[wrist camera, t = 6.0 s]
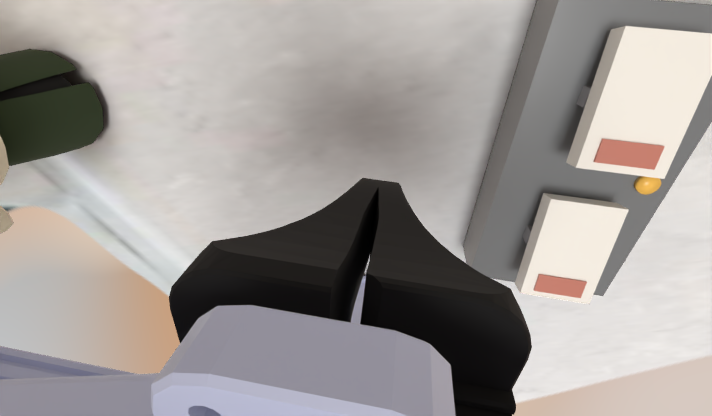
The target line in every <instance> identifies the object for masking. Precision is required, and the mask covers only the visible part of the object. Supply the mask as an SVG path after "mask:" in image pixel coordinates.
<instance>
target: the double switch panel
mask: <svg viewBox="0 0 712 416" xmlns="http://www.w3.org/2000/svg"><path fill="white" fill-rule="evenodd" d="M623 26H632V27H643V28H655V29H666V30H677V31H688V32H699V33H711V34H712V5H708V4H696V3H684V2H672V1H660V0H537V2H536V5H535V8H534V12H533V15H532V18H531V22H530V25H529V28H528V32H527V35H526V38H525V42H524V45H523V48H522V52H521V55H520V58H519V62H518V65H517V68H516V72H515V75H514V78H513V82H512V85H511V88H510V92H509V95H508V98H507V102H506V105H505V108H504V112H503V115H502V118H501V122H500V125H499V128H498V132H497V135H496V138H495V142H494V145H493V148H492V152H491V155H490V158H489V162H488V165H487V168H486V172H485V175H484V178H483V182H482V185H481V188H480V192H479V195H478V198H477V202H476V205H475V208H474V212H473V215H472V218H471V222H470V225H469V228H468V232H467V235H466V238H465V242H464V245H463V248H464V253H465V258H466V263H467V265H469V266H470V267H472V268H474V269H475V270H477V271H478V272H480V273H482V274H483V275H485V276H487V277H489V278H493V279H499V280H505V281H512V282H515V281H516V278H517V274H518V271H519V268H520V265H521V262H522V259H523V256H524V252H525V249H526V246H527V243H528V240H529V237H530V233H531V230H532V227H533V224H534V221H535V218H536V215H537V211H538V208H539V205H540V202H541V199H542V196H543V193H548V194H555V195H563V196H570V197H578V198H585V199H593V200H600V201H607V202H615V203H618V204H620V205H622V206H623V207H625V208H627V209H629V211H628V213H627V215H626V218H625V220H624V223H623V225H622V227H621V230H620V232H619V234H618V237H617V239H616V242H615V244H614V246H613V249H612V251H611V253H610V256H609V258H608V261H607V263H606V265H605V268H604V270H603V273H602V275H601V277H600V280H599V282H598V284H597V287H596V289H595V292H594V295H600V296H603V295H604V293H605V292H606V290H607V289H608V287H609V285H610V284H611V282H612V281H613V279H614V277H615V276H616V274H617V273H618V271H619V269H620V268H621V266H622V265H623V263H624V261H625V260H626V258H627V256H628V255H629V253H630V252H631V250H632V248H633V247H634V245H635V244H636V242H637V240H638V239H639V237H640V236H641V234H642V232H643V231H644V229H645V228H646V226H647V224H648V223H649V221H650V220H651V218H652V216H653V215H654V213H655V212H656V210H657V208H658V207H659V205H660V204H661V202H662V200H663V199H664V197H665V196H666V194H667V192H668V191H669V189H670V188H671V186H672V184H673V183H674V181H675V180H676V178H677V176H678V175H679V173H680V172H681V170H682V168H683V167H684V165H685V164H686V162H687V160H688V159H689V157H690V156H691V154H692V152H693V151H694V149H695V148H696V146H697V144H698V143H699V141H700V139H701V138H702V136H703V135H704V133H705V131H706V130H707V128H708V127H709V125H710V123H711V122H712V76H711V78H710V80H709V82H708V84H707V87H706V89H705V91H704V93H703V95H702V98H701V100H700V102H699V104H698V106H697V109H696V111H695V113H694V115H693V117H692V119H691V122H690V124H689V126H688V128H687V130H686V133H685V135H684V137H683V139H682V141H681V144H680V146H679V148H678V150H677V152H676V155H675V157H674V159H673V161H672V163H671V165H670V168H669V170H668V172H667V174H666V176H665V179H661V178H653V177H645V176H637V175H629V174H621V173H613V172H605V171H597V170H590V169H582V168H575V167H574V166H572V165H570V164H568V163H566V161H567V158H568V155H569V152H570V149H571V146H572V143H573V140H574V137H575V134H576V131H577V128H578V125H579V122H580V119H581V116H582V113H583V111H584V108H585V105H586V102H587V99H588V96H589V93H590V90H591V87H592V84H593V81H594V78H595V75H596V72H597V69H598V66H599V63H600V60H601V57H602V54H603V51H604V48H605V45H606V42H607V40H608V37H609V34H610V31H611V29H615V28H619V27H623Z"/></svg>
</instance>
